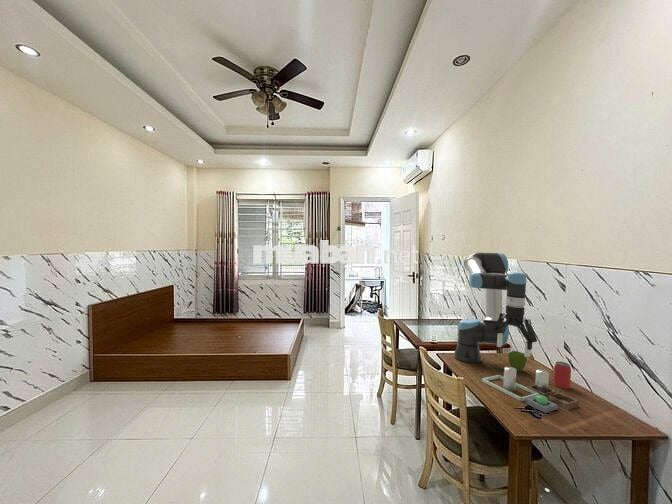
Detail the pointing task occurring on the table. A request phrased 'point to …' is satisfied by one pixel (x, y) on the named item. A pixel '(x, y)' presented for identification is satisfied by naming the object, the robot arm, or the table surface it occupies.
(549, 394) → the tray
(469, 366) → the table surface
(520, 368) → the apple
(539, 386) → the cylinder
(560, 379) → the beer can
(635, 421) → the table surface
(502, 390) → the tray
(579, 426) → the table surface
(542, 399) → the button
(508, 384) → the cylinder
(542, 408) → the grey square button housing
